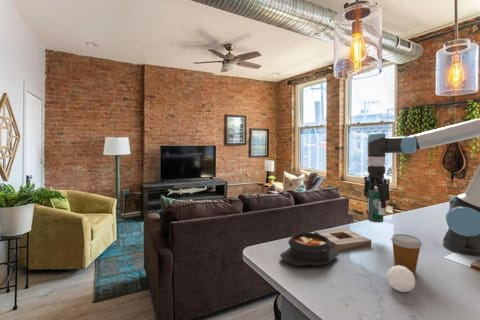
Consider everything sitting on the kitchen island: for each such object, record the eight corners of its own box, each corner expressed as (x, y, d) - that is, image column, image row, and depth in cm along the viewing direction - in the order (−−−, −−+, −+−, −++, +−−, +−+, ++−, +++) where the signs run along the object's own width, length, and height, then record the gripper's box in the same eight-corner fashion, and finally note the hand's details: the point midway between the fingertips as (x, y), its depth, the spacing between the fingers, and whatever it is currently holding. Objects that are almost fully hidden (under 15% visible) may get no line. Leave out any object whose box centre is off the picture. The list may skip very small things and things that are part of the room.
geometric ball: (396, 300, 82) (382, 281, 81) (393, 280, 89) (380, 262, 88) (422, 296, 78) (408, 276, 77) (417, 275, 84) (404, 257, 84)
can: (377, 223, 122) (377, 191, 122) (366, 220, 128) (366, 189, 127) (385, 221, 125) (386, 190, 124) (374, 218, 131) (374, 188, 130)
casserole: (301, 276, 92) (301, 253, 91) (270, 256, 108) (271, 236, 107) (349, 261, 103) (350, 240, 103) (315, 245, 120) (316, 227, 119)
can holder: (371, 246, 117) (371, 240, 117) (336, 251, 112) (336, 244, 112) (345, 233, 135) (345, 227, 134) (314, 236, 130) (314, 231, 130)
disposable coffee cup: (425, 277, 90) (427, 243, 90) (395, 274, 92) (397, 241, 92) (413, 265, 100) (414, 234, 99) (386, 262, 102) (387, 232, 101)
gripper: (355, 164, 133) (355, 208, 135) (386, 167, 115) (385, 218, 116) (367, 163, 135) (367, 207, 137) (399, 166, 117) (399, 217, 118)
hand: (375, 212), depth 126 cm, fingers closed on can, 6 cm apart
